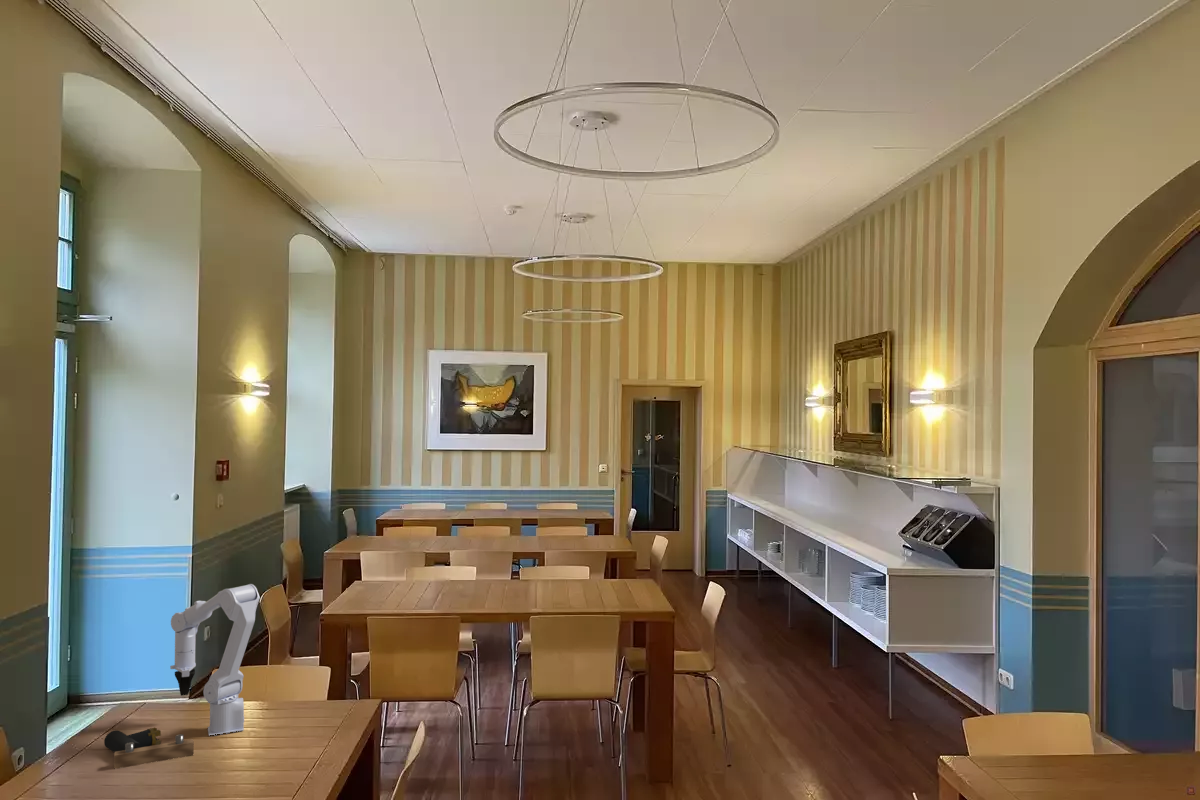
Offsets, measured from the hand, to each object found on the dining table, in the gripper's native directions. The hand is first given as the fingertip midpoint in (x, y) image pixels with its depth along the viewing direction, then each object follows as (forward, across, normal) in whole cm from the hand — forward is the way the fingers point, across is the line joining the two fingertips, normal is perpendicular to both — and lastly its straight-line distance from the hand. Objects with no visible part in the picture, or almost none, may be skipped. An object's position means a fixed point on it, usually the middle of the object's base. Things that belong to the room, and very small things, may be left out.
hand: (184, 694), depth 253 cm
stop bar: (+8, +30, -8) cm, 32 cm away
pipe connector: (+9, +19, -13) cm, 24 cm away
